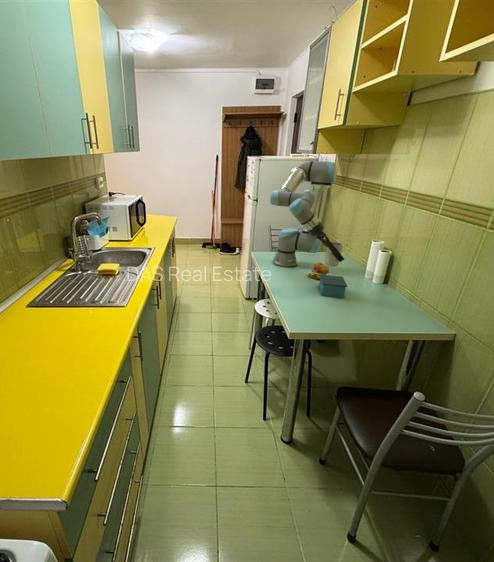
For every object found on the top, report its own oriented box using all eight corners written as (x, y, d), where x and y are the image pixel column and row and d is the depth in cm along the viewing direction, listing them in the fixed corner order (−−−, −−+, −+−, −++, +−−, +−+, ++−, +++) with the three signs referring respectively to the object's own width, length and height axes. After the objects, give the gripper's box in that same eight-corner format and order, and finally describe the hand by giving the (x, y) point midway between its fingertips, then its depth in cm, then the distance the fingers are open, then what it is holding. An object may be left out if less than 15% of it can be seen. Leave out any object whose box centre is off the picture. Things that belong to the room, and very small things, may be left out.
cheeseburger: (306, 272, 190) (313, 258, 185) (323, 278, 188) (330, 264, 183) (306, 277, 181) (313, 263, 176) (323, 284, 179) (331, 269, 174)
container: (318, 285, 172) (320, 274, 169) (340, 288, 169) (342, 276, 166) (320, 295, 160) (323, 283, 157) (344, 298, 158) (347, 286, 155)
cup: (322, 260, 163) (326, 241, 158) (337, 262, 161) (341, 242, 157) (324, 265, 156) (328, 245, 152) (339, 267, 154) (344, 246, 150)
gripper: (301, 226, 162) (326, 256, 167) (312, 236, 143) (339, 269, 149) (313, 216, 159) (338, 247, 165) (325, 225, 141) (353, 259, 146)
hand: (339, 257), depth 157 cm, fingers closed on cup, 7 cm apart
